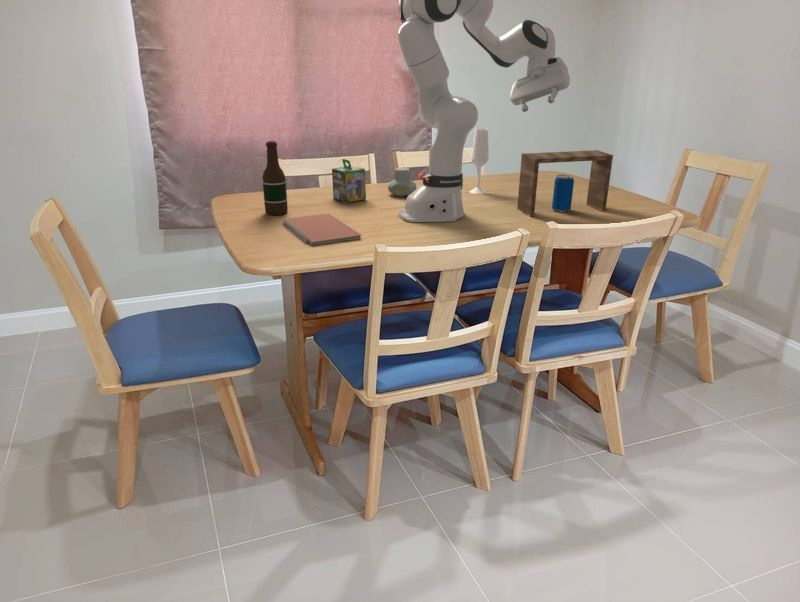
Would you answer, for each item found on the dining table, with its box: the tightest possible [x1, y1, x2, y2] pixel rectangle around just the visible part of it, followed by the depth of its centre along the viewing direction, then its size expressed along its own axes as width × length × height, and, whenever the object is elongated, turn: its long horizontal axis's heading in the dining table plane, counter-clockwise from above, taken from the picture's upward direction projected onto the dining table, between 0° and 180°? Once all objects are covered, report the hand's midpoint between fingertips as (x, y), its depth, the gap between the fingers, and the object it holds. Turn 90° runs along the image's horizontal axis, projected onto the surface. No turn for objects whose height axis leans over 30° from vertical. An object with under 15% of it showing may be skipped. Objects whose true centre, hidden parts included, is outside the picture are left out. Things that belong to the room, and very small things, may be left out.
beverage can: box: [551, 174, 575, 213], centre depth 219 cm, size 6×6×12 cm
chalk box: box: [331, 158, 367, 204], centre depth 231 cm, size 9×9×15 cm
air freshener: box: [387, 166, 418, 198], centre depth 239 cm, size 11×8×10 cm
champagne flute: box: [469, 127, 490, 195], centre depth 241 cm, size 7×7×24 cm
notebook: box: [282, 213, 362, 246], centre depth 197 cm, size 27×17×2 cm, turn 27°
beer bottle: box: [262, 140, 289, 217], centre depth 211 cm, size 8×8×24 cm
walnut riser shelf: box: [516, 149, 614, 217], centre depth 217 cm, size 29×10×20 cm, turn 106°
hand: (537, 106), depth 205 cm, fingers open, 8 cm apart
